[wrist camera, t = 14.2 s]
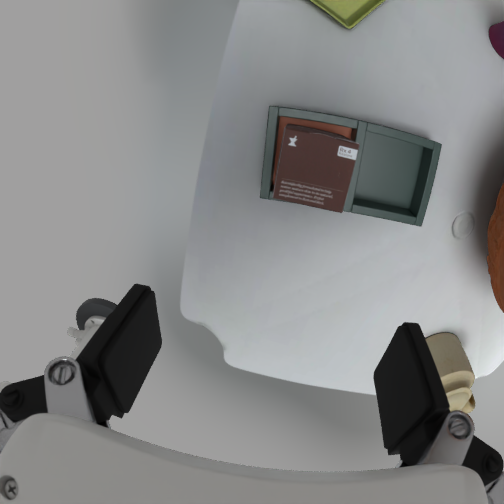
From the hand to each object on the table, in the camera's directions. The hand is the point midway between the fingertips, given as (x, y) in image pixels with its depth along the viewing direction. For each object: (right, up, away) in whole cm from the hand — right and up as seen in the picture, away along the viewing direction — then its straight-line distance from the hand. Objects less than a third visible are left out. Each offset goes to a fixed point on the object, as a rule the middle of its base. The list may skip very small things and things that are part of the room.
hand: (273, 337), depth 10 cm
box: (+5, +13, +17) cm, 22 cm away
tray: (+9, +13, +18) cm, 24 cm away
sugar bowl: (+32, -14, +29) cm, 45 cm away
